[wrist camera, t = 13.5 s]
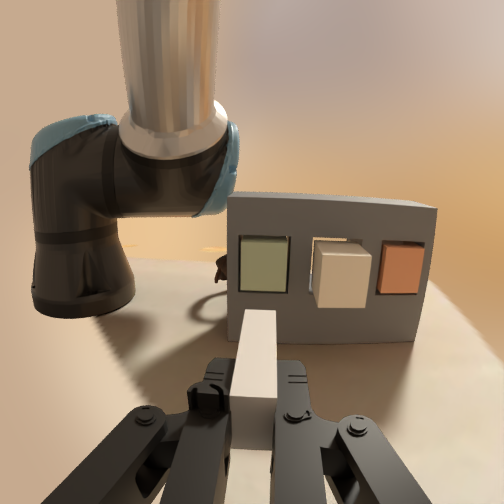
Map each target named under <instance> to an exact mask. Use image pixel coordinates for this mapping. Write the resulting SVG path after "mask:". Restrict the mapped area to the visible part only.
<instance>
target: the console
mask: <svg viewBox="0 0 504 504" xmlns="http://www.w3.org/2000/svg"><path fill="white" fill-rule="evenodd" d="M436 218H437V208H435V207H431V206H428V205H424V204H421V203H418V202H414V201H406V200H395V199H382V198H369V197H356V196H340V195H322V194H301V193H273V192H233V193H232V194H230V195H229V196H228V197H227V322H228V341H234V342H239V341H240V335H241V330H242V324H243V319H244V313H245V309H249V310H276V343H284V344H359V343H389V342H408V341H415V337H416V333H417V329H418V325H419V320H420V316H421V311H422V307H423V302H424V297H425V292H426V287H427V281H428V276H429V270H430V264H431V257H432V251H433V250H432V249H433V243H434V236H435V226H436ZM244 235H267V236H287V242H288V251H287V271H286V289H285V292H282V291H252V290H241V241H242V238H243V236H244ZM313 237H325V238H326V237H327V238H347V242H357V243H358V244H359V245H360V246H361V247H362V248H364V249H365V250H366V251H367V252H368V253H369V254H370V255H371V256H372V260H371V268H370V276H369V284H368V291H367V298H366V304H365V308H318V307H317V303H316V300H315V297H314V294H313V291H312V287H311V279H312V274H310V270H311V256H312V240H313ZM382 240H394V241H412V242H414V243H416V244H418V245H419V246H421V247H423V248H424V249H425V250H424V257H423V264H422V270H421V276H420V282H419V287H418V293H380V292H379V290H378V289H377V288H376V285H377V278H378V270H379V263H380V255H381V246H382Z"/></svg>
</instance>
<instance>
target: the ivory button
mask: <svg viewBox="0 0 504 504" xmlns="http://www.w3.org/2000/svg"><path fill="white" fill-rule="evenodd" d="M371 260H372V256H371V255H370V254H369V253H368V252H367V251H366V250H365V249H364V248H362V247H361V246H360V245H359V244H358V243H357V242H347V241H321V240H315V241H314V252H313V267H312V279H311V287H312V291H313V294H314V297H315V300H316V303H317V307H318V308H365V304H366V298H367V291H368V284H369V276H370V268H371Z"/></svg>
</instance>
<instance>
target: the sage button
mask: <svg viewBox="0 0 504 504" xmlns="http://www.w3.org/2000/svg"><path fill="white" fill-rule="evenodd" d="M287 251H288V242H287V237H286V236H267V235H244V236H243V238H242V241H241V290H252V291H282V292H285V289H286V271H287Z"/></svg>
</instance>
